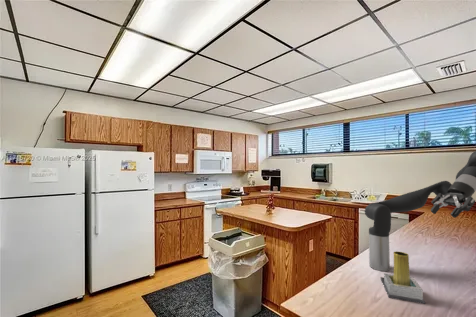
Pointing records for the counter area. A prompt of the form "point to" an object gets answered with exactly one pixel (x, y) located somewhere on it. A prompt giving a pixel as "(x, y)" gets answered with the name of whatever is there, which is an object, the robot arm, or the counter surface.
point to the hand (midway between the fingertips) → (442, 214)
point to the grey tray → (403, 290)
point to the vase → (401, 269)
